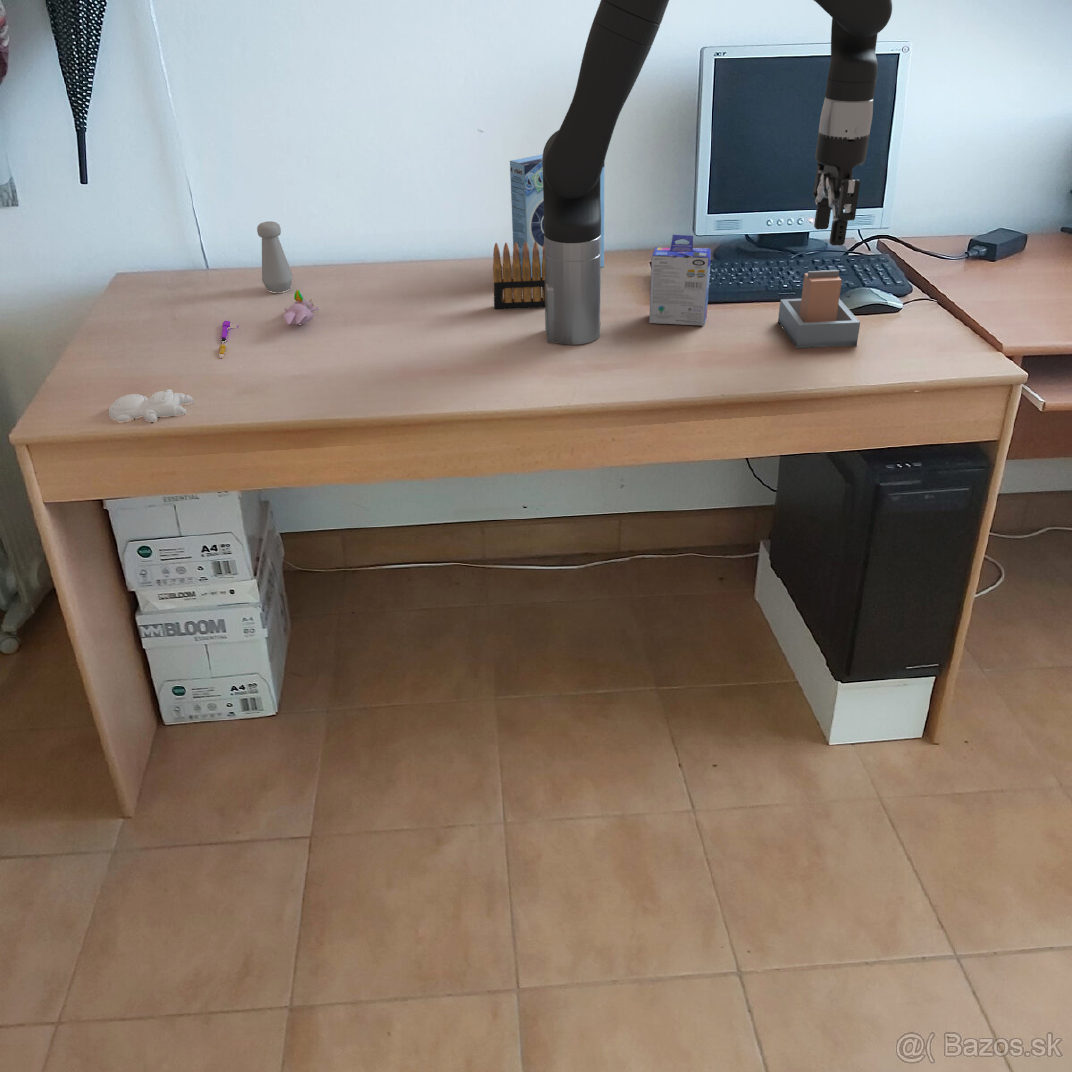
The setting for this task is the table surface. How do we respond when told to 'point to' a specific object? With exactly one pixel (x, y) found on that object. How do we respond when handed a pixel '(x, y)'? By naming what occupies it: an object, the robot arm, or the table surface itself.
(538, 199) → the blue fan box
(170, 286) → the table surface
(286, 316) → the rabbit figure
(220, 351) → the marker pen
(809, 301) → the tan slab
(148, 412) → the white flat lumpy piece
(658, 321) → the ink cartridge box
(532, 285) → the ammunition clip
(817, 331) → the organizer bin
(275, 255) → the salt shaker
